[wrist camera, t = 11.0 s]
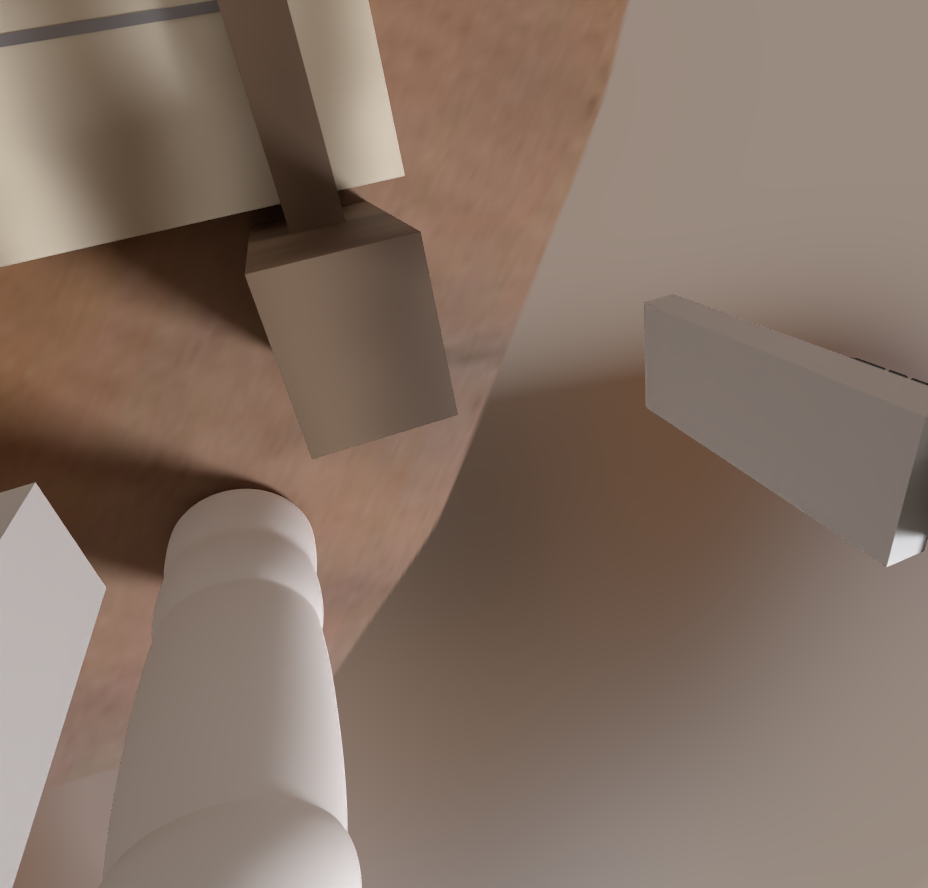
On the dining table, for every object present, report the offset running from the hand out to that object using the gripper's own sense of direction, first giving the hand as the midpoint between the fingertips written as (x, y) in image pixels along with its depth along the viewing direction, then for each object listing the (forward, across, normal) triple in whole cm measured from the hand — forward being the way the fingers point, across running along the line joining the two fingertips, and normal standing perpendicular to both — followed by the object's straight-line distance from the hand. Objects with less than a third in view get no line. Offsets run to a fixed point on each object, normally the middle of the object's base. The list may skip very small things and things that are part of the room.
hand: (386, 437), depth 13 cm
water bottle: (+16, -7, -12) cm, 21 cm away
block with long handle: (+16, +1, +4) cm, 16 cm away
